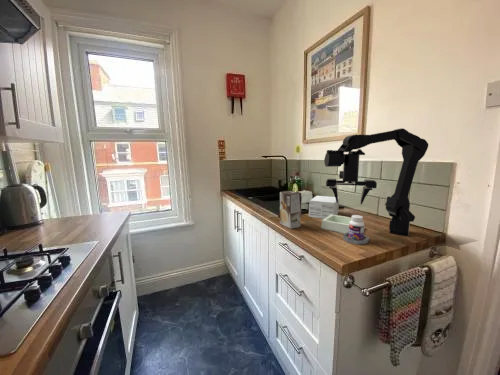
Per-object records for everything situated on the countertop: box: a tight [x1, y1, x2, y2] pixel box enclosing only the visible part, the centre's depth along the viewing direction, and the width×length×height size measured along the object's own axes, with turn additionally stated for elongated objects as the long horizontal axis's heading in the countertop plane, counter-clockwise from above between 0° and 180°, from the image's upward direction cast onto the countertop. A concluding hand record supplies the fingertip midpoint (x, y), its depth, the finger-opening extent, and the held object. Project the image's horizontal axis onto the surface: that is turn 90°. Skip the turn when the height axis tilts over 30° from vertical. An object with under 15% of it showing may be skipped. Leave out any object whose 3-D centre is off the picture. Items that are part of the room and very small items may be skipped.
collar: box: [342, 233, 370, 245], centre depth 87 cm, size 9×9×2 cm
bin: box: [321, 214, 352, 235], centre depth 101 cm, size 12×12×4 cm
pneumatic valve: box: [296, 189, 315, 210], centre depth 134 cm, size 6×12×12 cm, turn 111°
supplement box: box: [308, 195, 340, 220], centre depth 122 cm, size 17×13×9 cm
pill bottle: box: [348, 214, 366, 240], centre depth 86 cm, size 5×5×10 cm
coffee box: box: [279, 190, 302, 230], centre depth 104 cm, size 9×6×16 cm
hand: (349, 203), depth 93 cm, fingers open, 9 cm apart
